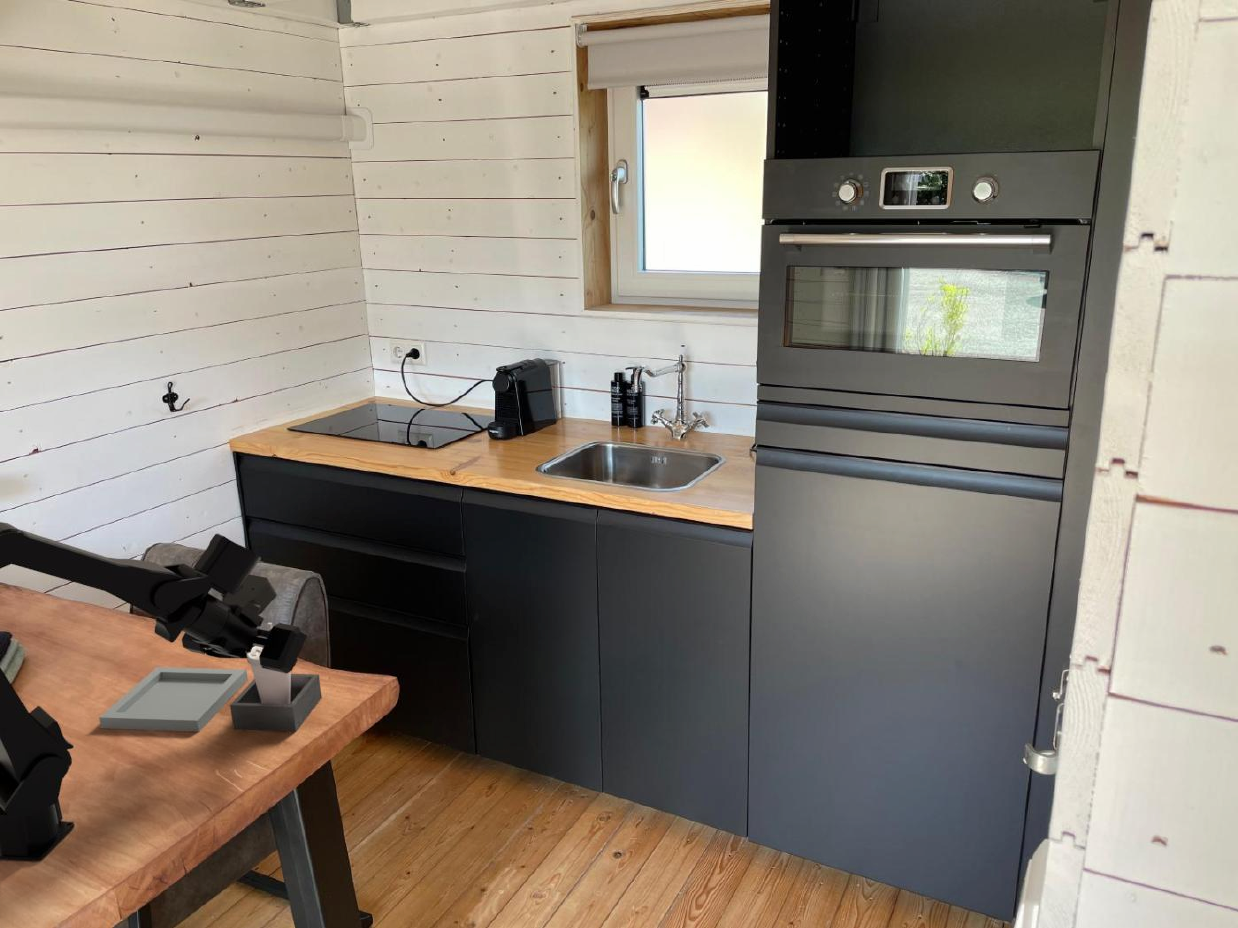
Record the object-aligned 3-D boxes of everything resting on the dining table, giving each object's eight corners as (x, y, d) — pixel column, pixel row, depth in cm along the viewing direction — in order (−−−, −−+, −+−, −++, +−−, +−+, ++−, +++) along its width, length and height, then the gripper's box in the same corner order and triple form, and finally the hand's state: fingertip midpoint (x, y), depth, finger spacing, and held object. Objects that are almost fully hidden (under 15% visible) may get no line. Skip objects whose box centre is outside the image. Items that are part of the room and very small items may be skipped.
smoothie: (285, 722, 135) (273, 634, 131) (245, 718, 136) (233, 631, 132) (307, 700, 141) (297, 615, 137) (269, 696, 142) (258, 612, 138)
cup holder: (296, 731, 134) (292, 706, 133) (233, 729, 135) (229, 705, 134) (321, 697, 143) (318, 674, 142) (263, 695, 144) (259, 672, 143)
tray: (199, 731, 134) (197, 720, 134) (101, 728, 136) (98, 717, 135) (247, 679, 149) (246, 669, 148) (158, 677, 150) (157, 667, 150)
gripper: (290, 575, 125) (350, 618, 138) (186, 557, 132) (253, 599, 145) (253, 654, 120) (319, 690, 133) (148, 630, 127) (220, 667, 140)
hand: (278, 658), depth 138 cm, fingers closed on smoothie, 6 cm apart
